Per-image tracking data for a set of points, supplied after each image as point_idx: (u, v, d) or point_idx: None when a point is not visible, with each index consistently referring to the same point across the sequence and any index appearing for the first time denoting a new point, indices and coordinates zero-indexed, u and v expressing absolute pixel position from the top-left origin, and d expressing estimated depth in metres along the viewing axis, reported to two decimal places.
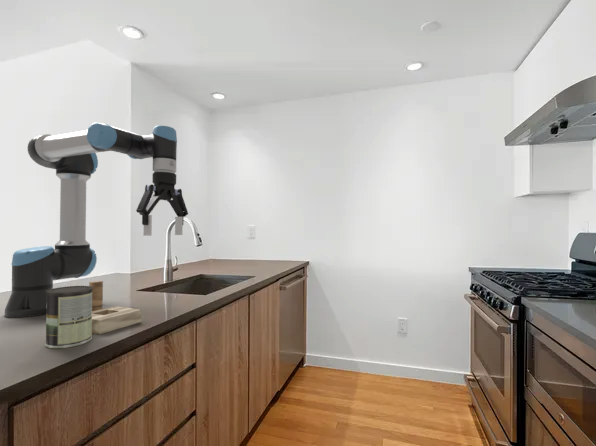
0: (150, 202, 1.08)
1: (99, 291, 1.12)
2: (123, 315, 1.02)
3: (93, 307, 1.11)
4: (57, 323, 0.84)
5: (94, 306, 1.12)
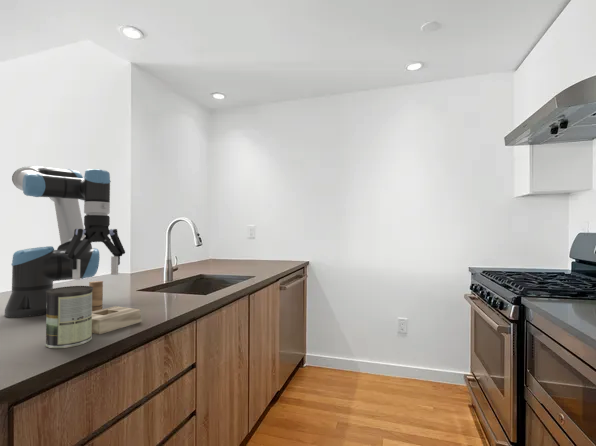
0: (80, 246, 1.09)
1: (99, 291, 1.12)
2: (123, 315, 1.02)
3: (93, 307, 1.11)
4: (57, 323, 0.84)
5: (94, 306, 1.12)
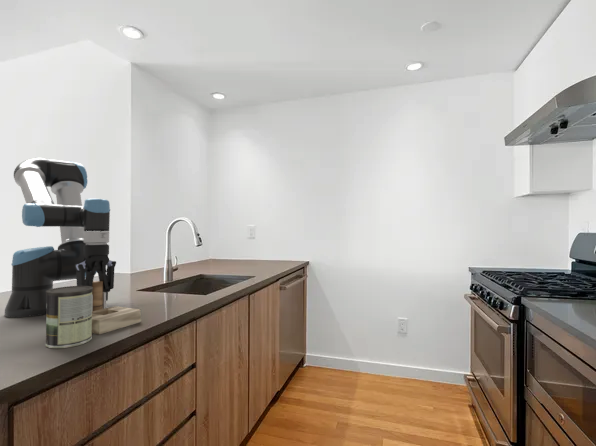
0: (86, 280, 1.11)
1: (99, 291, 1.12)
2: (123, 315, 1.02)
3: (93, 307, 1.11)
4: (57, 323, 0.84)
5: (94, 306, 1.12)
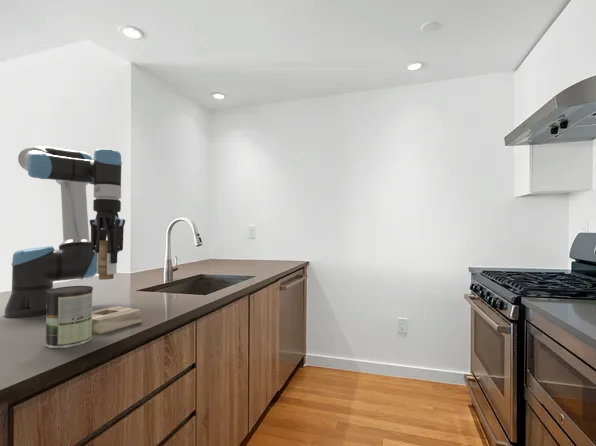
0: None
1: (100, 249, 1.03)
2: (123, 315, 1.02)
3: None
4: (57, 323, 0.84)
5: None
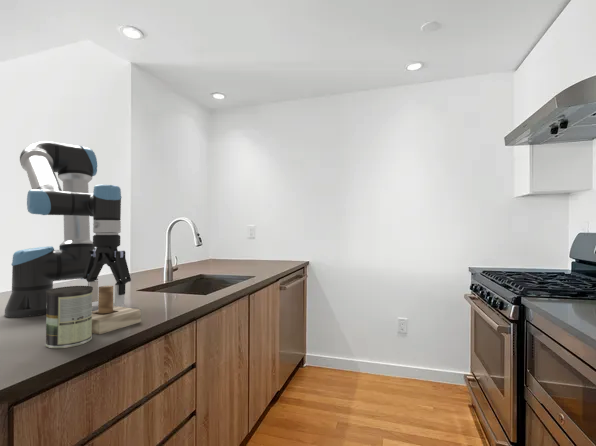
0: None
1: (99, 297, 1.02)
2: (123, 315, 1.02)
3: None
4: (57, 323, 0.84)
5: None
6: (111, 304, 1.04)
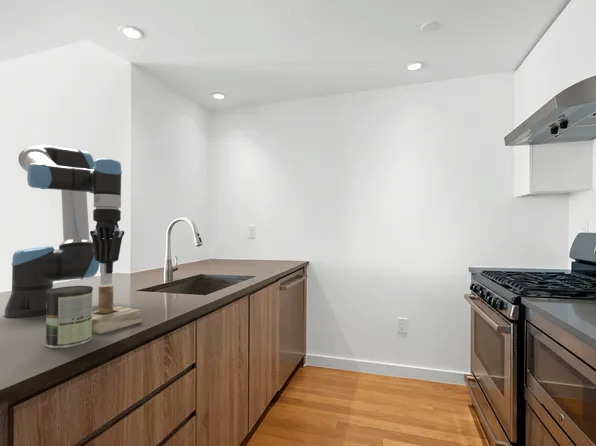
0: None
1: (99, 297, 1.02)
2: (123, 315, 1.02)
3: None
4: (57, 323, 0.84)
5: None
6: (111, 304, 1.04)
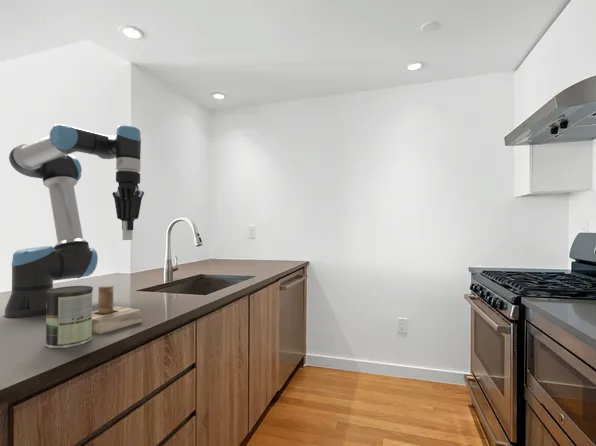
0: None
1: (99, 297, 1.02)
2: (123, 315, 1.02)
3: None
4: (57, 323, 0.84)
5: None
6: (111, 304, 1.04)
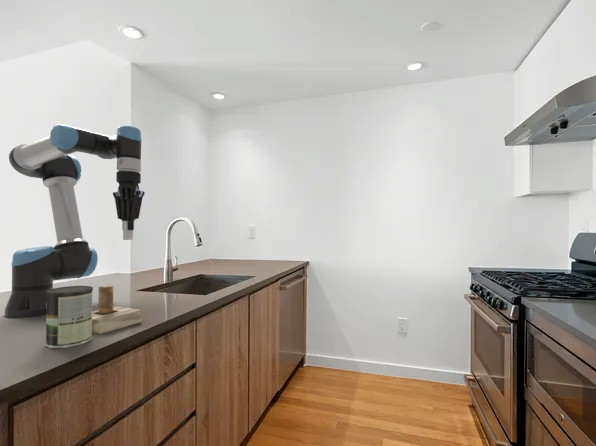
0: None
1: (99, 297, 1.02)
2: (123, 315, 1.02)
3: None
4: (57, 323, 0.84)
5: None
6: (111, 304, 1.04)
